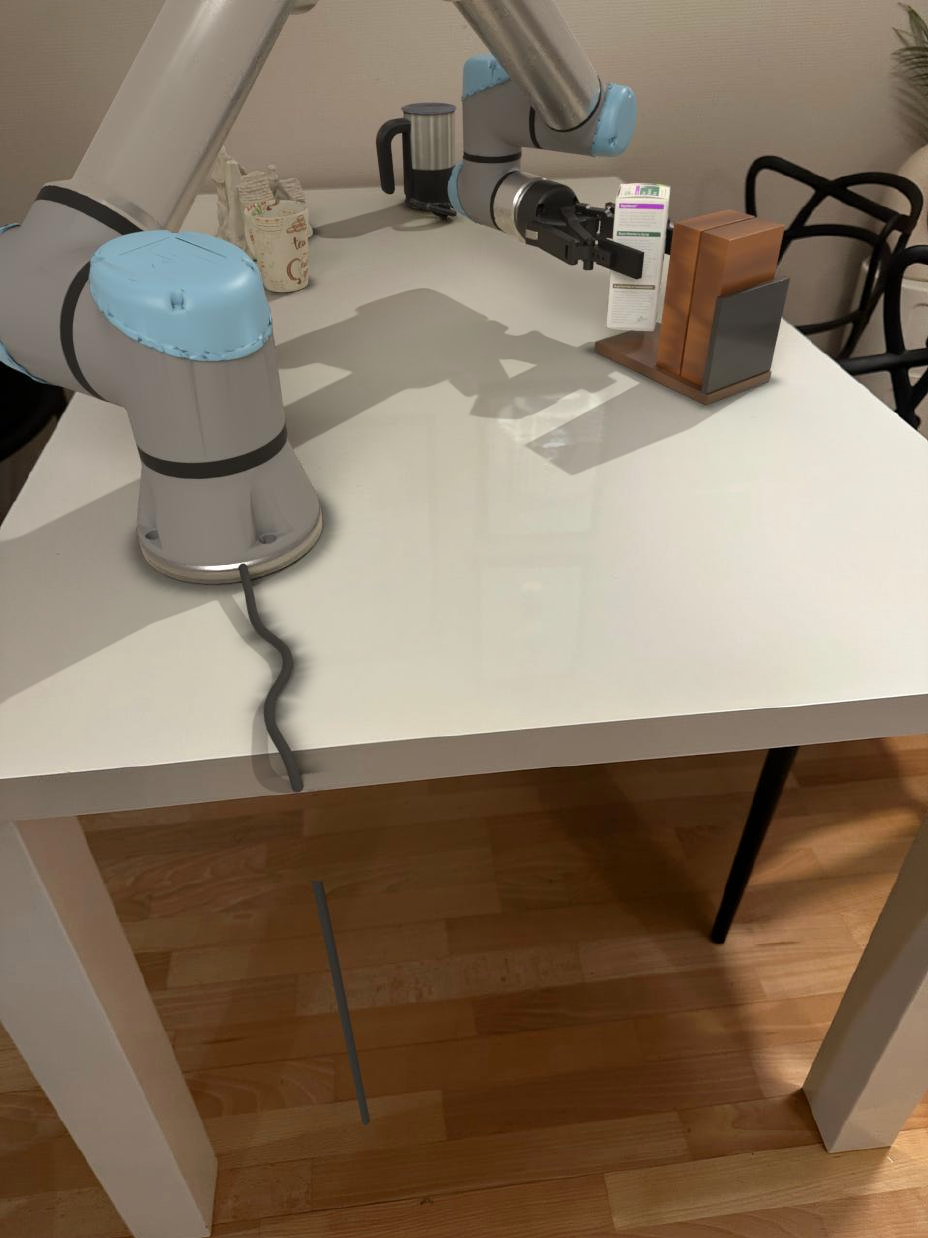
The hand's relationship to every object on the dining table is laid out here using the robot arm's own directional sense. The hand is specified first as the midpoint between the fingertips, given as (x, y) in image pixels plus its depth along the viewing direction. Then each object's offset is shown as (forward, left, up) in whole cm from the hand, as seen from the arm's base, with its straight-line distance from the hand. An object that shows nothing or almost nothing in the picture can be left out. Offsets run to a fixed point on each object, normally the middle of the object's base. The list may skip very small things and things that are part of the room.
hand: (669, 257), depth 97 cm
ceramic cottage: (+41, +57, -11) cm, 71 cm away
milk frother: (+59, +33, -11) cm, 68 cm away
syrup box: (+4, +3, -9) cm, 10 cm away
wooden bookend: (-2, -2, -11) cm, 11 cm away
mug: (+22, +51, -11) cm, 57 cm away
